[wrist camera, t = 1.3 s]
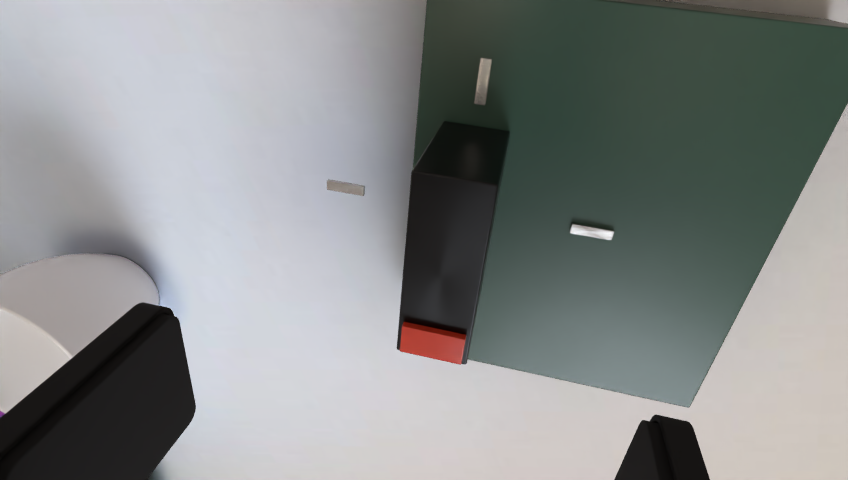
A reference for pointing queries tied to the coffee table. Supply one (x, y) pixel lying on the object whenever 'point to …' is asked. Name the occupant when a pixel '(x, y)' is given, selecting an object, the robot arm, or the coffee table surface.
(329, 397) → the coffee table surface
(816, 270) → the coffee table surface
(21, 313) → the cup
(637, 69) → the green block
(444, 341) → the black and red block
